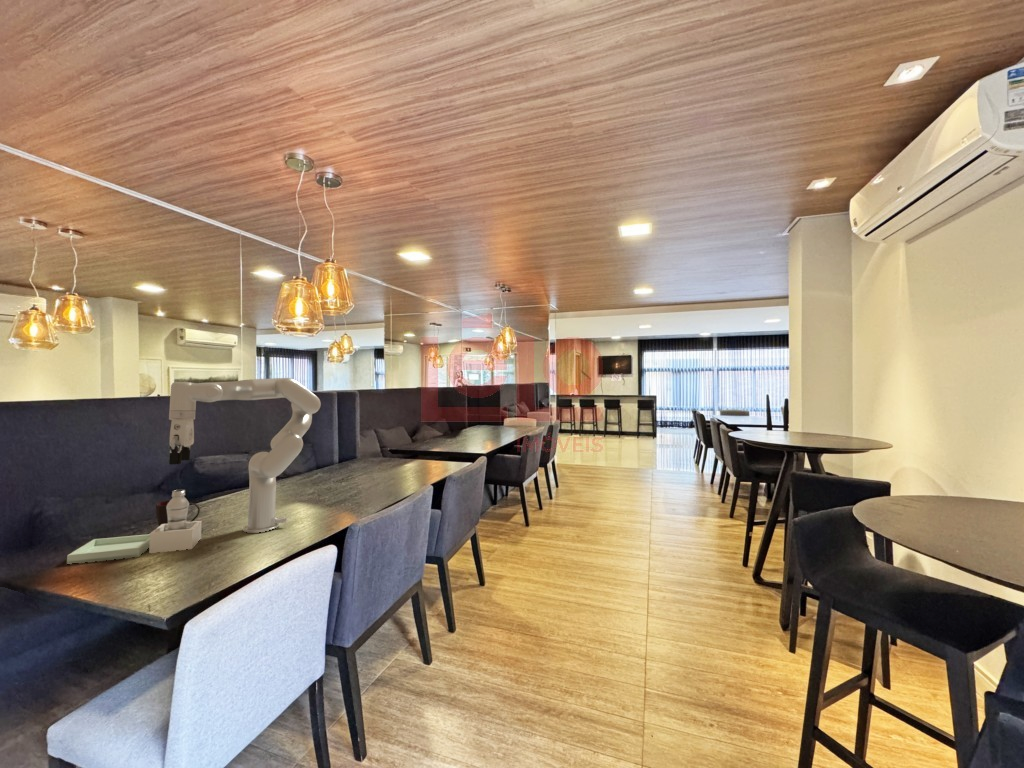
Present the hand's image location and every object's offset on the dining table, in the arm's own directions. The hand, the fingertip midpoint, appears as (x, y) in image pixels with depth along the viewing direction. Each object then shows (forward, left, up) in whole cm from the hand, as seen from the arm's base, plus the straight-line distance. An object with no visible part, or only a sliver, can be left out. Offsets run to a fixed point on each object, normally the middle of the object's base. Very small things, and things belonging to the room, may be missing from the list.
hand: (179, 462), depth 150 cm
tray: (+17, 0, -30) cm, 35 cm away
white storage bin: (0, 0, -30) cm, 30 cm away
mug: (+5, -19, -31) cm, 36 cm away
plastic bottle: (0, 0, -31) cm, 31 cm away
